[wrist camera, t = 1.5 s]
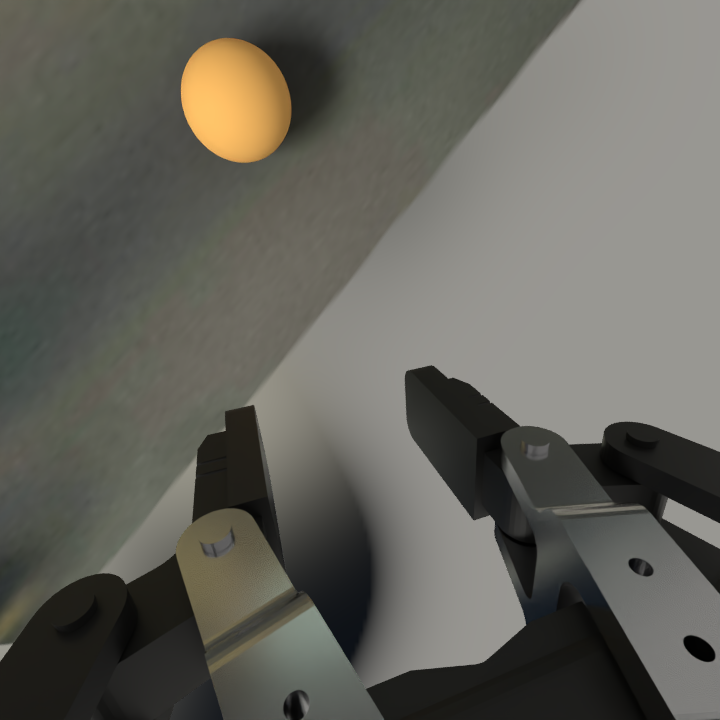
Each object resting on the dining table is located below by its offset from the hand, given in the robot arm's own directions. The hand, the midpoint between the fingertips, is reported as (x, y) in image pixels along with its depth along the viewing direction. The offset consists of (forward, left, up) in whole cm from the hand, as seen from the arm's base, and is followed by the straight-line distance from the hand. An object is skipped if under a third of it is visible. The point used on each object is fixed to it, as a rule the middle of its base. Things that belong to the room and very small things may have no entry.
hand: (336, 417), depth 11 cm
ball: (-10, 0, -17) cm, 19 cm away
